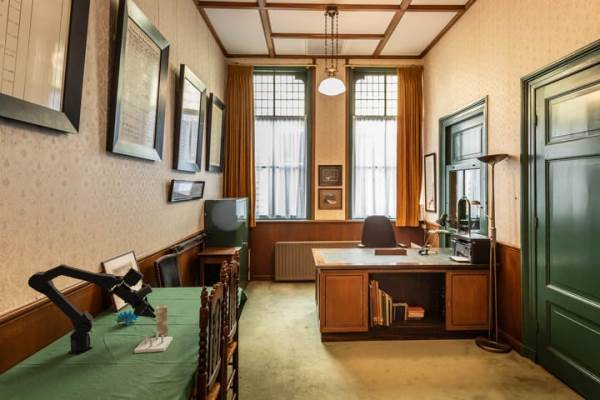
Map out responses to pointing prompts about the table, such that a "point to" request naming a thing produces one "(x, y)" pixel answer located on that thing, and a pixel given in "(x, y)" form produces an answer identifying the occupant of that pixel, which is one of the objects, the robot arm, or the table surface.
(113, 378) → the table surface
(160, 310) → the maple block
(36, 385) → the table surface
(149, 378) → the table surface
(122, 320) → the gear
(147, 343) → the pin plate
